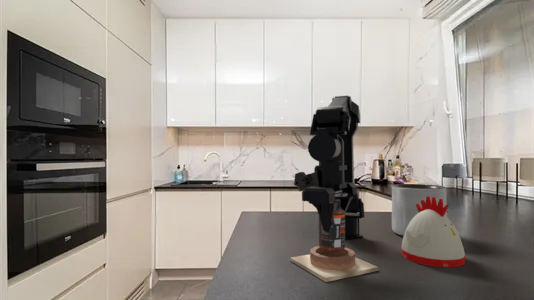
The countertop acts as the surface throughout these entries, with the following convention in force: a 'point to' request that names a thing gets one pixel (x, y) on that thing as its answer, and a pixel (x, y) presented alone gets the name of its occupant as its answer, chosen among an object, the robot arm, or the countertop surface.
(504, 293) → the countertop surface
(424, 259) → the kitchen timer
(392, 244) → the countertop surface
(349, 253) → the collar stand
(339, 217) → the supplement bottle
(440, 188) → the planter
